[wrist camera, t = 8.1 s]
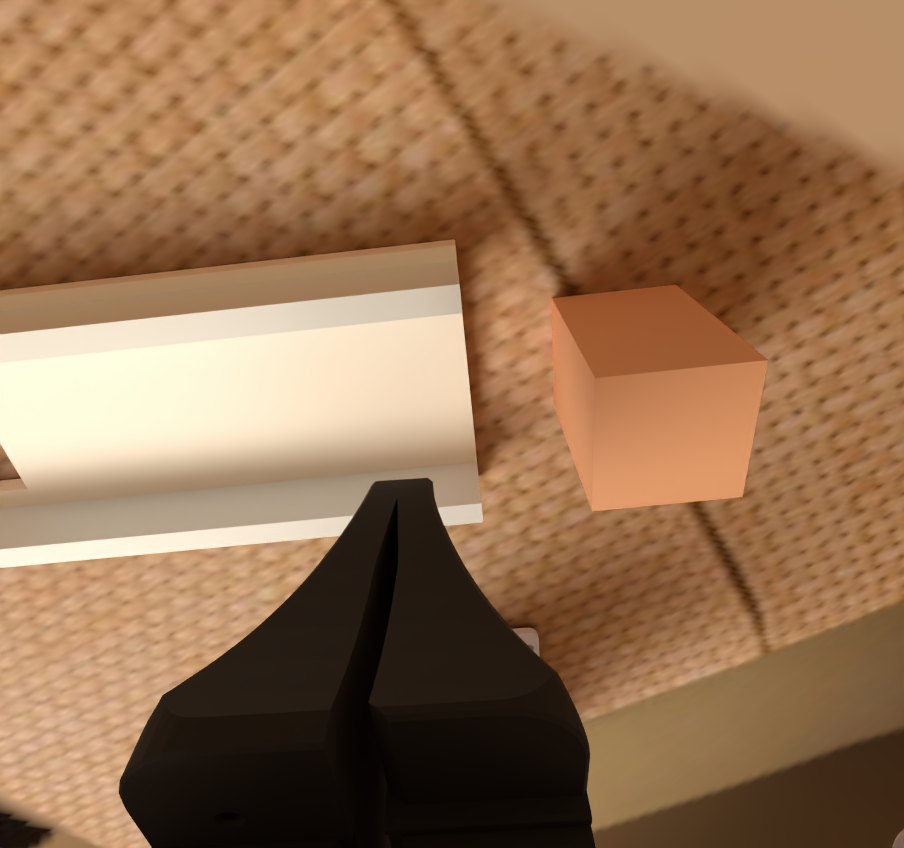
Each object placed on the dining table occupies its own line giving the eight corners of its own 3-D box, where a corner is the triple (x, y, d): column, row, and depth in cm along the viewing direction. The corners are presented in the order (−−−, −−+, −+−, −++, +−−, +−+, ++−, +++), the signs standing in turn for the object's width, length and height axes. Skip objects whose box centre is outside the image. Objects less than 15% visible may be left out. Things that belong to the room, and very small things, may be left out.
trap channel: (478, 477, 22) (484, 532, 19) (-141, 537, 23) (-220, 598, 20) (454, 239, 17) (457, 267, 15) (-317, 325, 18) (-451, 367, 16)
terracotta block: (553, 405, 21) (665, 393, 20) (592, 511, 15) (742, 497, 15) (551, 298, 18) (675, 284, 18) (594, 377, 13) (768, 360, 13)
